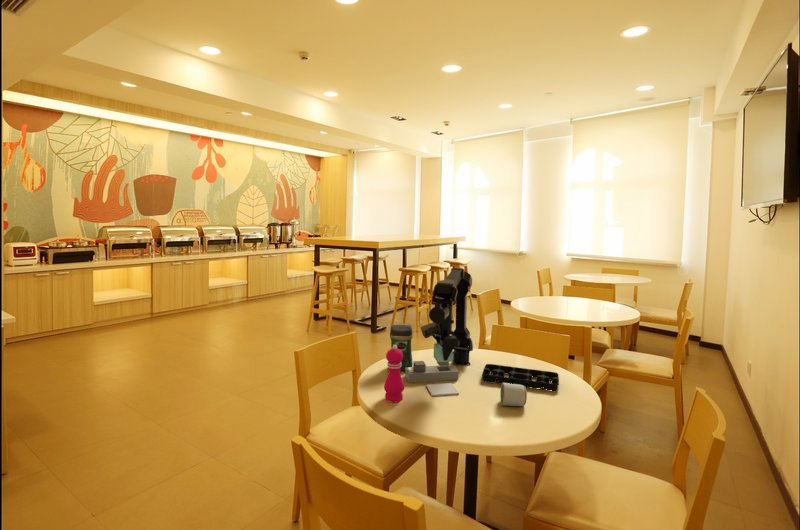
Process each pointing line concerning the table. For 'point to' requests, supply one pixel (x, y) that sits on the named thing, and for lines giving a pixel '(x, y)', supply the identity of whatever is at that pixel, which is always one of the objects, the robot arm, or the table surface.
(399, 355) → the pepper mill
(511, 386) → the ceramic mug
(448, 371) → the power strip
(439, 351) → the green block
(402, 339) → the coffee jar
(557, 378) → the egg carton
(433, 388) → the mat
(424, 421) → the table surface
